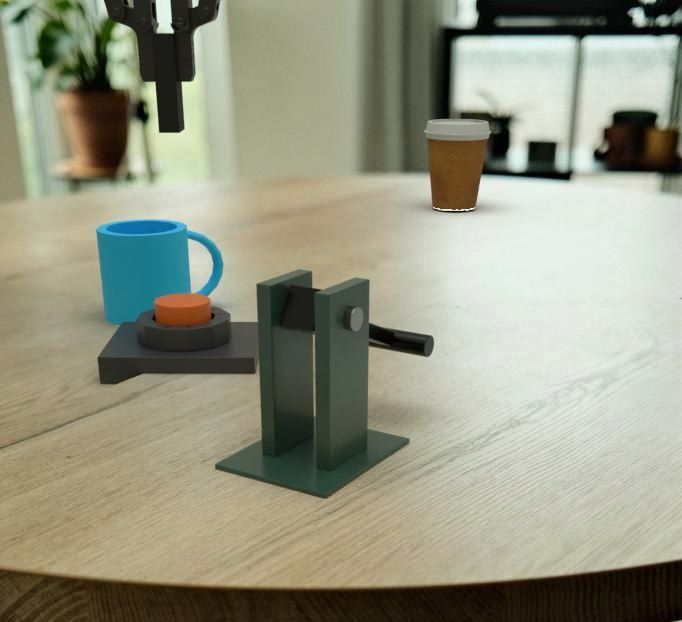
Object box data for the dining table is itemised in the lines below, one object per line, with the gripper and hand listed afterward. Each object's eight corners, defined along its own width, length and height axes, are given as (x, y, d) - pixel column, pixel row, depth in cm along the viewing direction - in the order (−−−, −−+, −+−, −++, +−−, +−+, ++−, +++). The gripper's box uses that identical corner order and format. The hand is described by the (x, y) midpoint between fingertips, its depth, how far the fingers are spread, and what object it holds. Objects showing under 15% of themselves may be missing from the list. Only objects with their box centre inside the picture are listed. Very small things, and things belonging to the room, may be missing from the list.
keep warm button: (151, 329, 79) (149, 307, 78) (160, 314, 83) (159, 293, 82) (208, 329, 79) (206, 307, 78) (214, 314, 83) (213, 293, 82)
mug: (123, 332, 91) (114, 239, 88) (93, 311, 97) (83, 224, 94) (243, 313, 97) (239, 226, 93) (207, 295, 103) (202, 212, 100)
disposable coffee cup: (494, 213, 146) (500, 124, 140) (429, 215, 144) (433, 125, 139) (476, 202, 154) (481, 118, 149) (415, 204, 153) (417, 119, 148)
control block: (100, 384, 78) (94, 334, 77) (125, 346, 87) (120, 300, 86) (255, 384, 78) (253, 334, 77) (264, 346, 87) (263, 300, 86)
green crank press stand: (306, 431, 70) (304, 257, 64) (409, 455, 66) (415, 273, 61) (215, 482, 62) (204, 290, 57) (325, 513, 58) (324, 310, 53)
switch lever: (353, 351, 70) (360, 317, 70) (429, 365, 68) (437, 330, 67) (254, 320, 60) (263, 280, 60) (340, 336, 57) (350, 293, 57)
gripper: (251, -251, 68) (264, 125, 78) (56, -250, 68) (94, 126, 78) (241, -280, 61) (256, 136, 72) (25, -280, 61) (71, 136, 72)
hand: (172, 130), depth 75 cm, fingers closed
